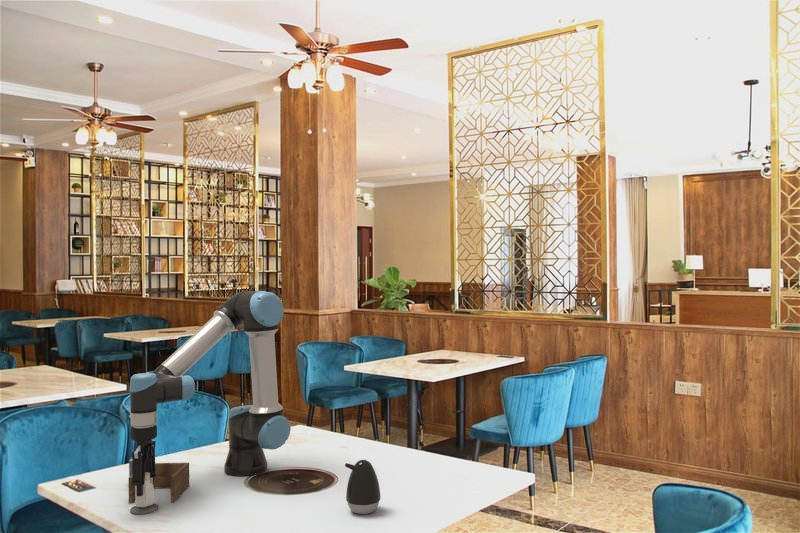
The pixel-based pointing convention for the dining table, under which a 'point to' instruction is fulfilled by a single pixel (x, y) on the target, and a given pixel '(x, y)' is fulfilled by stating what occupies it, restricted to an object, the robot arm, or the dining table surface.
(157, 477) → the wooden u-shaped frame
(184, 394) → the robot arm
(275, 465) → the dining table surface
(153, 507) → the slate coaster
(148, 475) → the pepper shaker
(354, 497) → the pump dispenser
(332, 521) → the dining table surface
